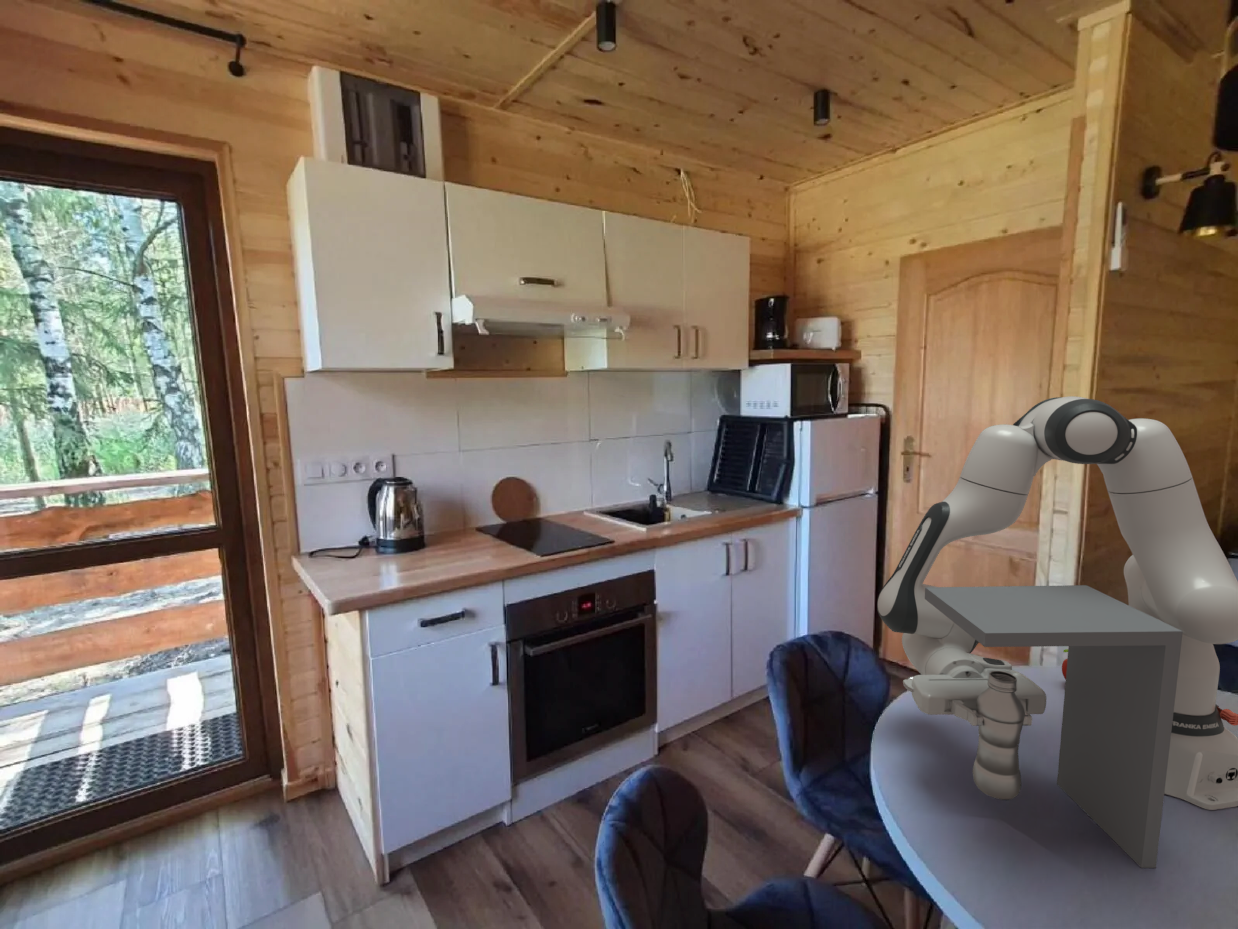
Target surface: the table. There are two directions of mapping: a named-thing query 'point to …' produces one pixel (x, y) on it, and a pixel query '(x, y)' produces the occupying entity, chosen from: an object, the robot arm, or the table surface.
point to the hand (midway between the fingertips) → (1002, 721)
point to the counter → (1093, 694)
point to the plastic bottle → (999, 738)
